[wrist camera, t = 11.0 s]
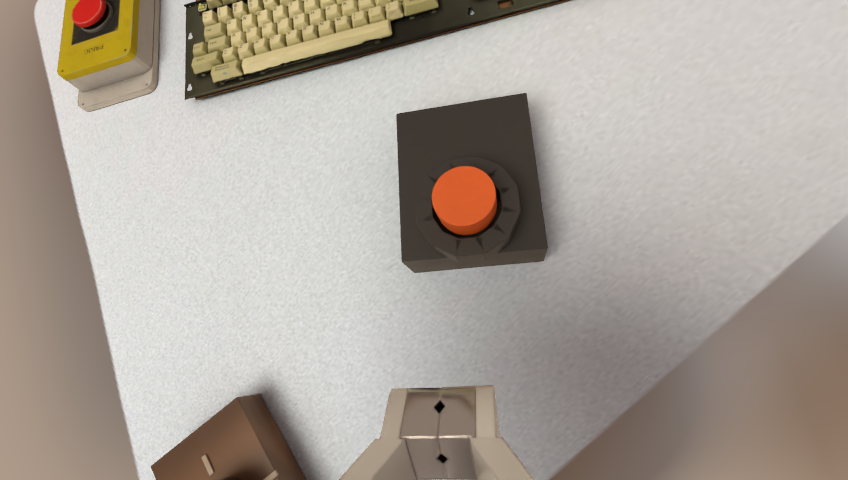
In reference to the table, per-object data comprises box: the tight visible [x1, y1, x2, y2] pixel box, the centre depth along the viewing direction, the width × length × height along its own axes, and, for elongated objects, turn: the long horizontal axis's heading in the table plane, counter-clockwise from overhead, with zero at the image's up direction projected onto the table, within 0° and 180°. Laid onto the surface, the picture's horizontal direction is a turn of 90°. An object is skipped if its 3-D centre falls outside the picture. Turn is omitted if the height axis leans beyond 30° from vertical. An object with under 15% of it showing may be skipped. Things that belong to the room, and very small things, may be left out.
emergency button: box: [57, 0, 160, 111], centre depth 45 cm, size 9×4×15 cm
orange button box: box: [397, 93, 548, 273], centre depth 31 cm, size 12×10×6 cm
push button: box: [432, 166, 497, 235], centre depth 27 cm, size 4×4×2 cm
